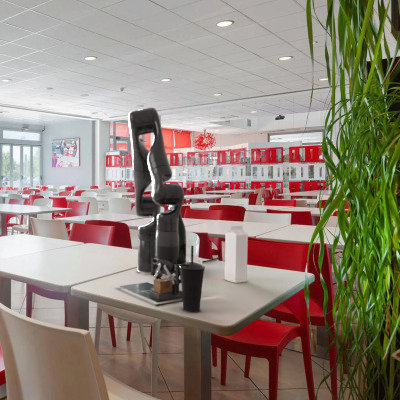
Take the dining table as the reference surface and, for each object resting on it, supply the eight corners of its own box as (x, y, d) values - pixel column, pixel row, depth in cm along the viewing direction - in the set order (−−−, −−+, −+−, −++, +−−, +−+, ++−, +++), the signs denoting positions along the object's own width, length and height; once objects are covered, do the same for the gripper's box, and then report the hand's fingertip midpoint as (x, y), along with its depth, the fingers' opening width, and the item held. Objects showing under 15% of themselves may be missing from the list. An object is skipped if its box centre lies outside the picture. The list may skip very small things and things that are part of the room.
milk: (246, 281, 166) (248, 226, 165) (235, 283, 164) (236, 227, 163) (235, 278, 172) (237, 224, 171) (223, 279, 169) (225, 225, 168)
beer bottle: (159, 263, 202) (160, 194, 201) (172, 260, 209) (172, 194, 208) (177, 266, 195) (178, 195, 193) (190, 263, 202) (191, 194, 200)
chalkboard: (147, 284, 161) (147, 281, 161) (190, 300, 140) (190, 297, 140) (116, 288, 155) (116, 285, 155) (157, 306, 134) (157, 303, 134)
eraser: (173, 293, 145) (173, 276, 145) (182, 297, 140) (183, 279, 140) (149, 297, 140) (149, 279, 140) (158, 301, 136) (159, 282, 136)
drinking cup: (175, 306, 133) (176, 244, 132) (198, 306, 134) (199, 243, 133) (183, 314, 126) (184, 247, 125) (208, 313, 126) (209, 247, 125)
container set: (190, 268, 190) (190, 256, 189) (202, 269, 188) (202, 257, 187) (181, 278, 172) (181, 264, 171) (194, 279, 169) (194, 266, 169)
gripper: (190, 246, 135) (189, 296, 136) (162, 240, 148) (162, 286, 148) (172, 247, 132) (171, 299, 132) (145, 241, 144) (144, 288, 145)
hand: (166, 292), depth 140 cm, fingers open, 8 cm apart
